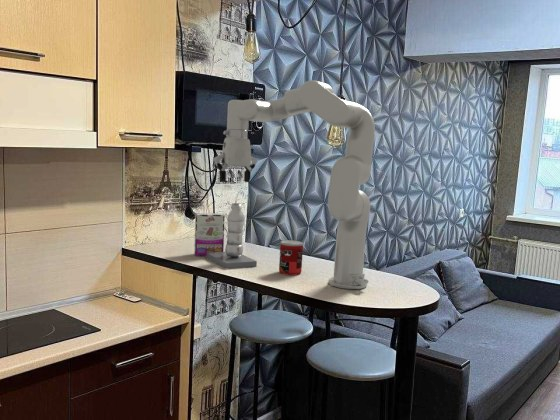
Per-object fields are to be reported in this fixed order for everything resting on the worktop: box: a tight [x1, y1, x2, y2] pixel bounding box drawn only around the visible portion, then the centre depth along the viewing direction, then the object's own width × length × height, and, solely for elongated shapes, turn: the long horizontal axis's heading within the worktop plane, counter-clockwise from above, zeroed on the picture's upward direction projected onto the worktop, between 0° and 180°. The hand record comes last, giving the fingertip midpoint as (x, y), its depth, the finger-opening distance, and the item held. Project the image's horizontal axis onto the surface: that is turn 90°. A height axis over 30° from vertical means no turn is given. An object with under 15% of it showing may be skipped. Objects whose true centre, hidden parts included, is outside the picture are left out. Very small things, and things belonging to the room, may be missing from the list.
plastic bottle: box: [224, 202, 245, 257], centre depth 202 cm, size 6×7×20 cm
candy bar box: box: [194, 212, 225, 257], centre depth 213 cm, size 11×5×16 cm, turn 104°
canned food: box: [278, 239, 304, 276], centre depth 192 cm, size 8×8×11 cm
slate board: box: [206, 251, 258, 270], centre depth 203 cm, size 18×12×2 cm, turn 31°
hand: (234, 181), depth 199 cm, fingers open, 9 cm apart
